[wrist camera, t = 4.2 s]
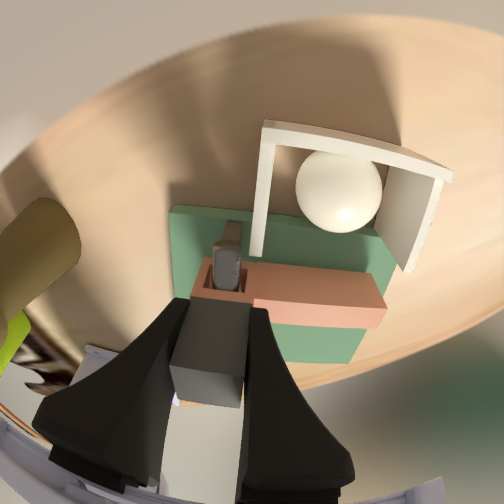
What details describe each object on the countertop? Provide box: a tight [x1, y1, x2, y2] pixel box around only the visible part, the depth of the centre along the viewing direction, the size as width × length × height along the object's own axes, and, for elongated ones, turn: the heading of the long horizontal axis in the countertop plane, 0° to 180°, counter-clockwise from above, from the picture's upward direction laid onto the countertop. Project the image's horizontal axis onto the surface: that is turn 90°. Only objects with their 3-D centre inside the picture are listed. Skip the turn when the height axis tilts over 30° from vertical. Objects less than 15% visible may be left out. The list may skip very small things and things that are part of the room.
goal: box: [249, 119, 454, 273], centre depth 11 cm, size 7×5×5 cm
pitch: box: [169, 204, 397, 364], centre depth 17 cm, size 13×11×1 cm
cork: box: [0, 198, 81, 349], centre depth 12 cm, size 6×6×11 cm
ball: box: [296, 150, 382, 233], centre depth 12 cm, size 4×4×4 cm
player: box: [169, 257, 387, 408], centre depth 12 cm, size 9×2×7 cm, turn 85°
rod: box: [213, 220, 243, 292], centre depth 15 cm, size 1×11×3 cm, turn 175°
